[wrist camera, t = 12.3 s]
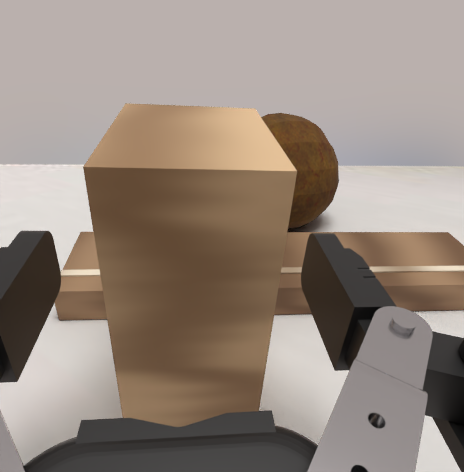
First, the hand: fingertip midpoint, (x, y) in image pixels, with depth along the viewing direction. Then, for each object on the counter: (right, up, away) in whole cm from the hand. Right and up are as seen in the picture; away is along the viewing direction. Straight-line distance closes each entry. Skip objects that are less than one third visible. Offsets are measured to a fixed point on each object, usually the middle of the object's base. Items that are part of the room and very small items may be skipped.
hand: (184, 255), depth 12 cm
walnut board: (+5, -2, +12) cm, 13 cm away
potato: (+4, +2, +20) cm, 20 cm away
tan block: (-1, -5, +7) cm, 9 cm away
